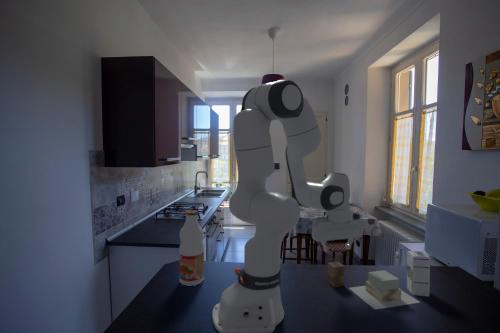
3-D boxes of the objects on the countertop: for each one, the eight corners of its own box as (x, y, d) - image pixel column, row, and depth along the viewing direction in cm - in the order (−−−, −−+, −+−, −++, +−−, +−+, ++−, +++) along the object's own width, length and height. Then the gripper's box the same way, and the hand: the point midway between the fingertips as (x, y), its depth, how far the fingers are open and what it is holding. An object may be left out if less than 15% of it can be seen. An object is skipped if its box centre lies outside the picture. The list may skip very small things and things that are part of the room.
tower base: (381, 302, 89) (381, 292, 88) (365, 290, 96) (365, 281, 96) (401, 299, 90) (401, 289, 90) (384, 287, 98) (384, 278, 98)
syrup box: (430, 297, 92) (431, 257, 92) (411, 295, 94) (412, 255, 93) (422, 289, 98) (424, 251, 97) (405, 287, 99) (406, 250, 98)
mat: (374, 310, 84) (374, 309, 84) (348, 288, 98) (348, 287, 98) (420, 303, 89) (420, 302, 89) (389, 283, 102) (389, 282, 102)
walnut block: (333, 288, 99) (333, 267, 98) (327, 282, 103) (327, 262, 103) (344, 286, 100) (344, 266, 99) (337, 281, 104) (337, 261, 104)
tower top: (381, 291, 89) (382, 281, 89) (367, 281, 96) (368, 272, 96) (398, 288, 91) (399, 279, 90) (384, 279, 97) (384, 270, 97)
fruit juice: (207, 283, 101) (207, 212, 100) (183, 290, 97) (182, 215, 95) (199, 274, 110) (199, 207, 108) (176, 279, 105) (176, 210, 104)
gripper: (316, 218, 95) (316, 256, 95) (365, 214, 99) (365, 250, 100) (308, 214, 101) (308, 249, 102) (355, 210, 105) (355, 244, 106)
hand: (337, 249), depth 101 cm, fingers open, 8 cm apart
